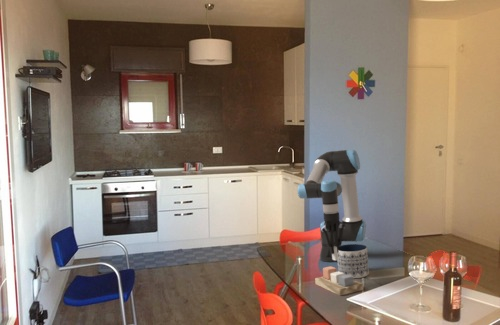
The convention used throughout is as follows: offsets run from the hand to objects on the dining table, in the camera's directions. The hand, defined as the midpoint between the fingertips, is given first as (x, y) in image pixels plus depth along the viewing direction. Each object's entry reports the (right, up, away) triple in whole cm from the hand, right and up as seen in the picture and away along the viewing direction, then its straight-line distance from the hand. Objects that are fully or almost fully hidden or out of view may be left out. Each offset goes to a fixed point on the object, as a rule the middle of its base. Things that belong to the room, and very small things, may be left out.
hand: (335, 259), depth 232 cm
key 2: (+4, -11, -7) cm, 14 cm away
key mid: (+2, -11, 0) cm, 11 cm away
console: (+2, -13, 0) cm, 13 cm away
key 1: (-1, -10, +6) cm, 12 cm away
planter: (+13, -12, +18) cm, 25 cm away
